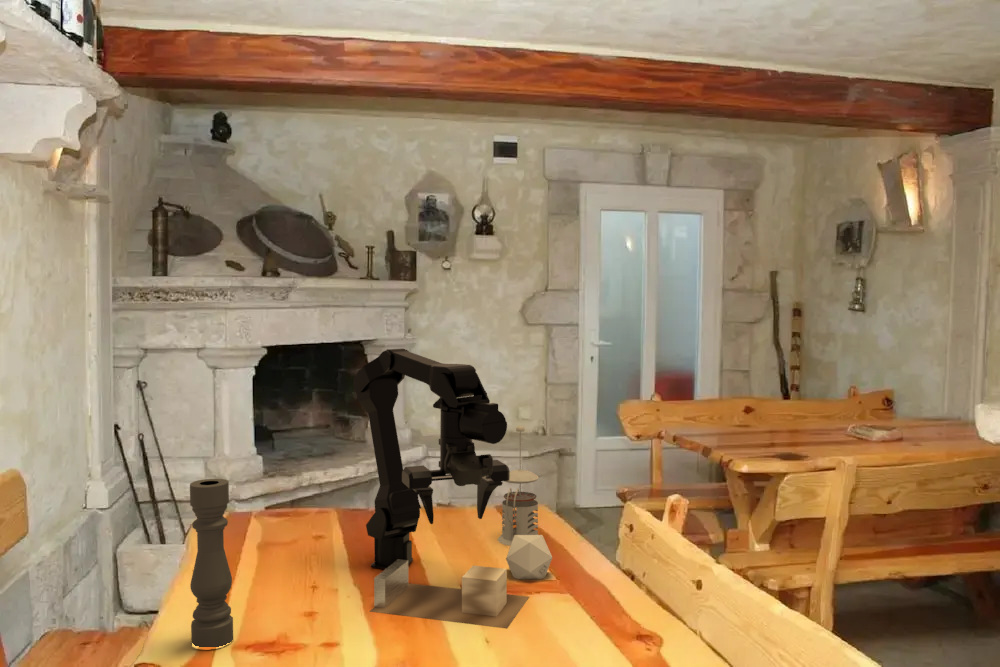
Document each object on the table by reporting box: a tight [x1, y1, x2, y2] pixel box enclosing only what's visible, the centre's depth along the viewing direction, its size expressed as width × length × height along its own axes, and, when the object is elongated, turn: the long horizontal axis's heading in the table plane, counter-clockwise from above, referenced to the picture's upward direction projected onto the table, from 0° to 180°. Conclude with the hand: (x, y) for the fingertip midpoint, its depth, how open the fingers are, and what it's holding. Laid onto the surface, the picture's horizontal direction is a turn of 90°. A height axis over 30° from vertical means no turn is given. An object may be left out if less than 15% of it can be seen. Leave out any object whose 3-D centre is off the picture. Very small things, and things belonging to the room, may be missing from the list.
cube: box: [461, 565, 508, 616], centre depth 140 cm, size 6×6×6 cm
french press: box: [497, 425, 539, 547], centre depth 180 cm, size 10×12×25 cm
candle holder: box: [189, 478, 234, 647], centre depth 129 cm, size 6×6×25 cm
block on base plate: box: [369, 559, 530, 629], centre depth 142 cm, size 24×14×6 cm, turn 73°
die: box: [505, 534, 553, 580], centre depth 157 cm, size 8×9×10 cm
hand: (455, 520), depth 150 cm, fingers open, 9 cm apart
